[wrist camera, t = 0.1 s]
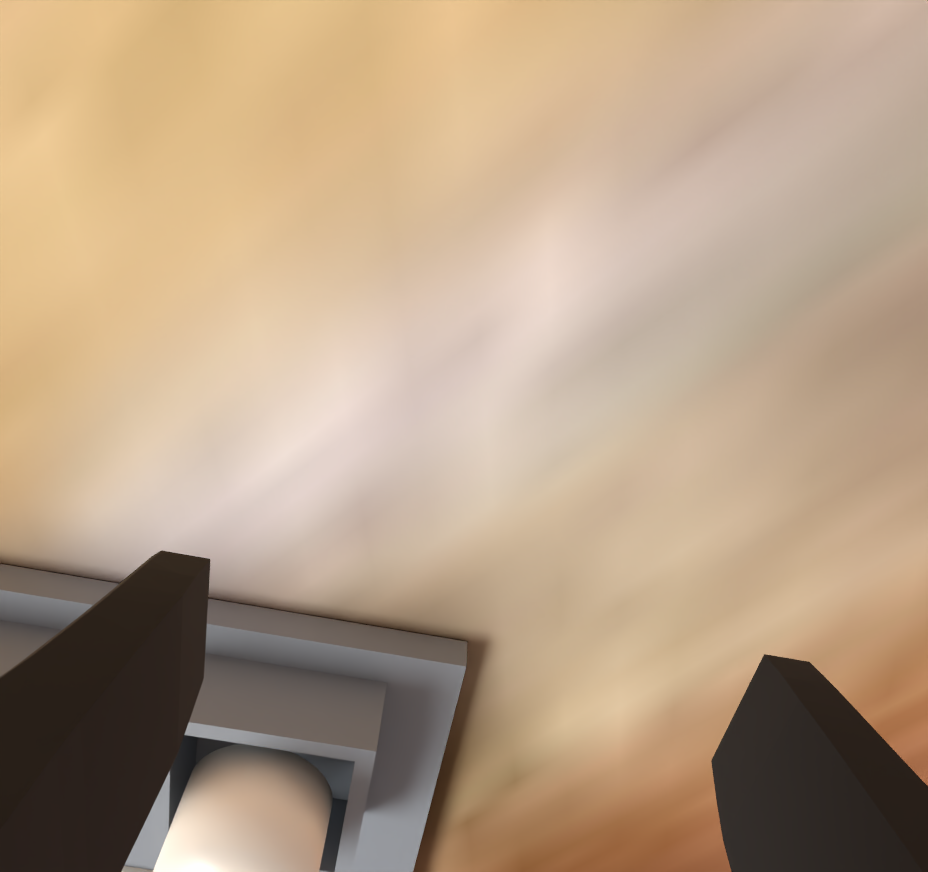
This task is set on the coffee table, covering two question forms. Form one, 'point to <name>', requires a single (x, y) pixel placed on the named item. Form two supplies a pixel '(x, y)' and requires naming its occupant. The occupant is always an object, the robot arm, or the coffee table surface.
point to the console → (290, 710)
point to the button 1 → (249, 814)
